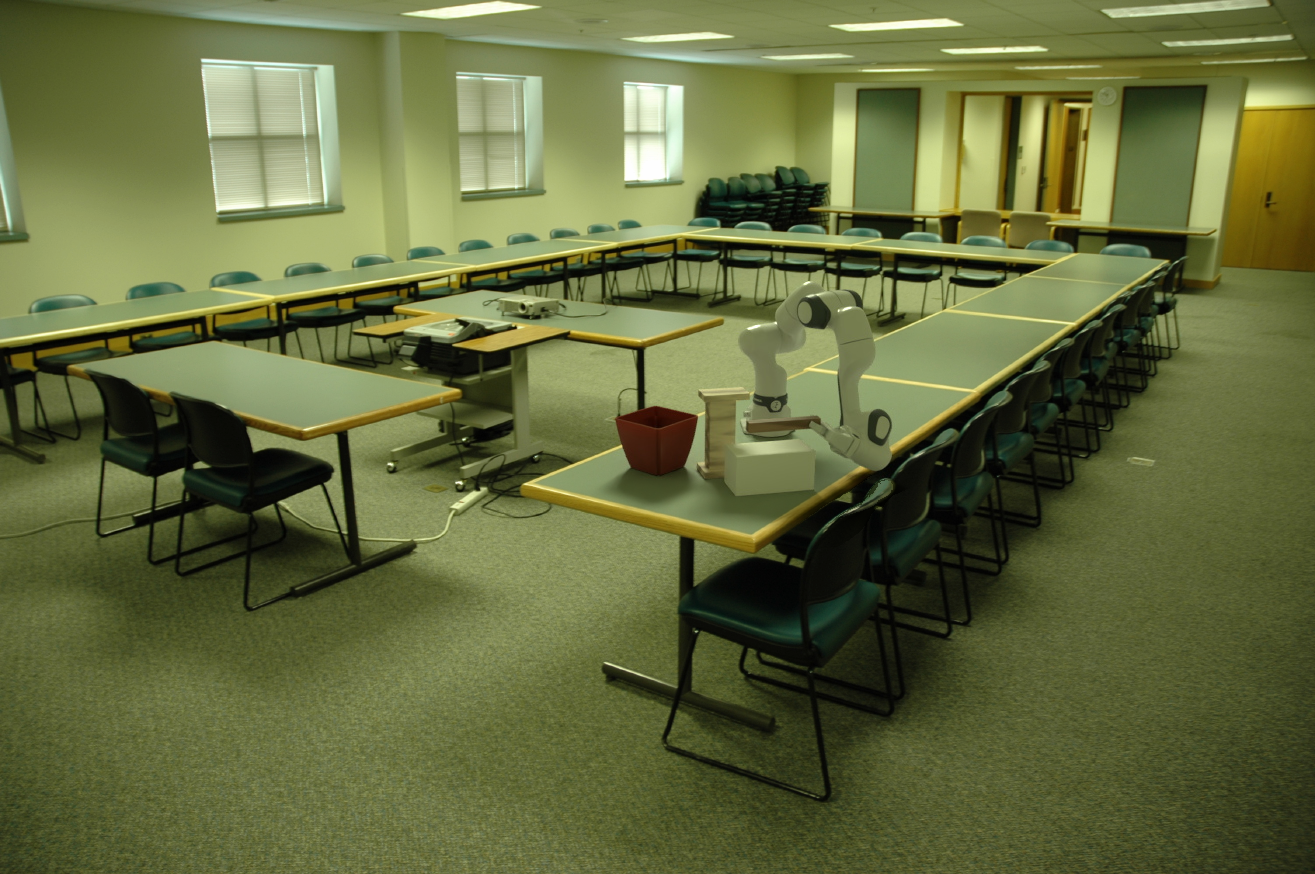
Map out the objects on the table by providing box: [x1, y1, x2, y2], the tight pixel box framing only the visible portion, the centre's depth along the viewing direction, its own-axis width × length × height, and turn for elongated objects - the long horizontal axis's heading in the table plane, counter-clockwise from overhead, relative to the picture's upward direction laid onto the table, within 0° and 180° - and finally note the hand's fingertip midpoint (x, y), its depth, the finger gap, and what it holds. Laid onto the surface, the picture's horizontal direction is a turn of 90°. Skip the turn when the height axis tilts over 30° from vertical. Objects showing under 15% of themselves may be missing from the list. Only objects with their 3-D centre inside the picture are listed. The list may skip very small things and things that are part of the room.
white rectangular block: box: [723, 438, 817, 497], centre depth 273 cm, size 12×24×12 cm, turn 102°
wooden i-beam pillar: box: [696, 386, 751, 480], centre depth 283 cm, size 10×14×26 cm
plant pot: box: [614, 405, 699, 477], centre depth 289 cm, size 19×19×17 cm
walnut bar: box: [746, 415, 822, 433], centre depth 270 cm, size 3×22×3 cm, turn 102°
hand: (806, 421), depth 271 cm, fingers closed on walnut bar, 3 cm apart
